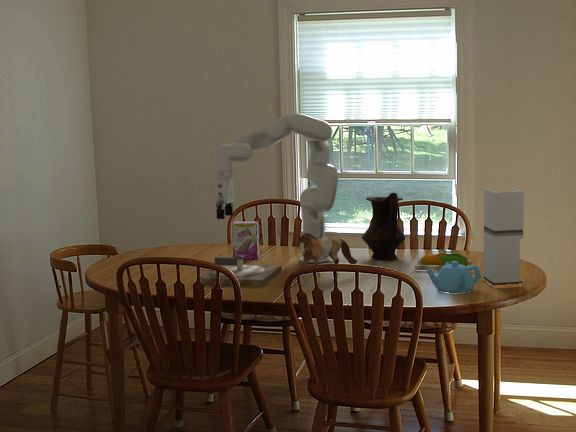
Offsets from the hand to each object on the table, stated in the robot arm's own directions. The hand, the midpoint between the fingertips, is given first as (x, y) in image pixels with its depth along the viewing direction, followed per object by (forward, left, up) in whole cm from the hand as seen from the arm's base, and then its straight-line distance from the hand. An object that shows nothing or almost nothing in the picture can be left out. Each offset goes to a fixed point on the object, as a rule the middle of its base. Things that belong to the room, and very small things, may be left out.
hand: (224, 217), depth 325 cm
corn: (-86, -19, -24) cm, 91 cm away
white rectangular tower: (-109, +4, -23) cm, 112 cm away
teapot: (-92, +16, -24) cm, 96 cm away
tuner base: (-8, +7, -23) cm, 26 cm away
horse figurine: (-45, +9, -24) cm, 52 cm away
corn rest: (-86, -19, -23) cm, 91 cm away
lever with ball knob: (-4, +7, -20) cm, 22 cm away
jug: (-60, -34, -23) cm, 73 cm away
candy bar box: (+1, -29, -23) cm, 37 cm away
